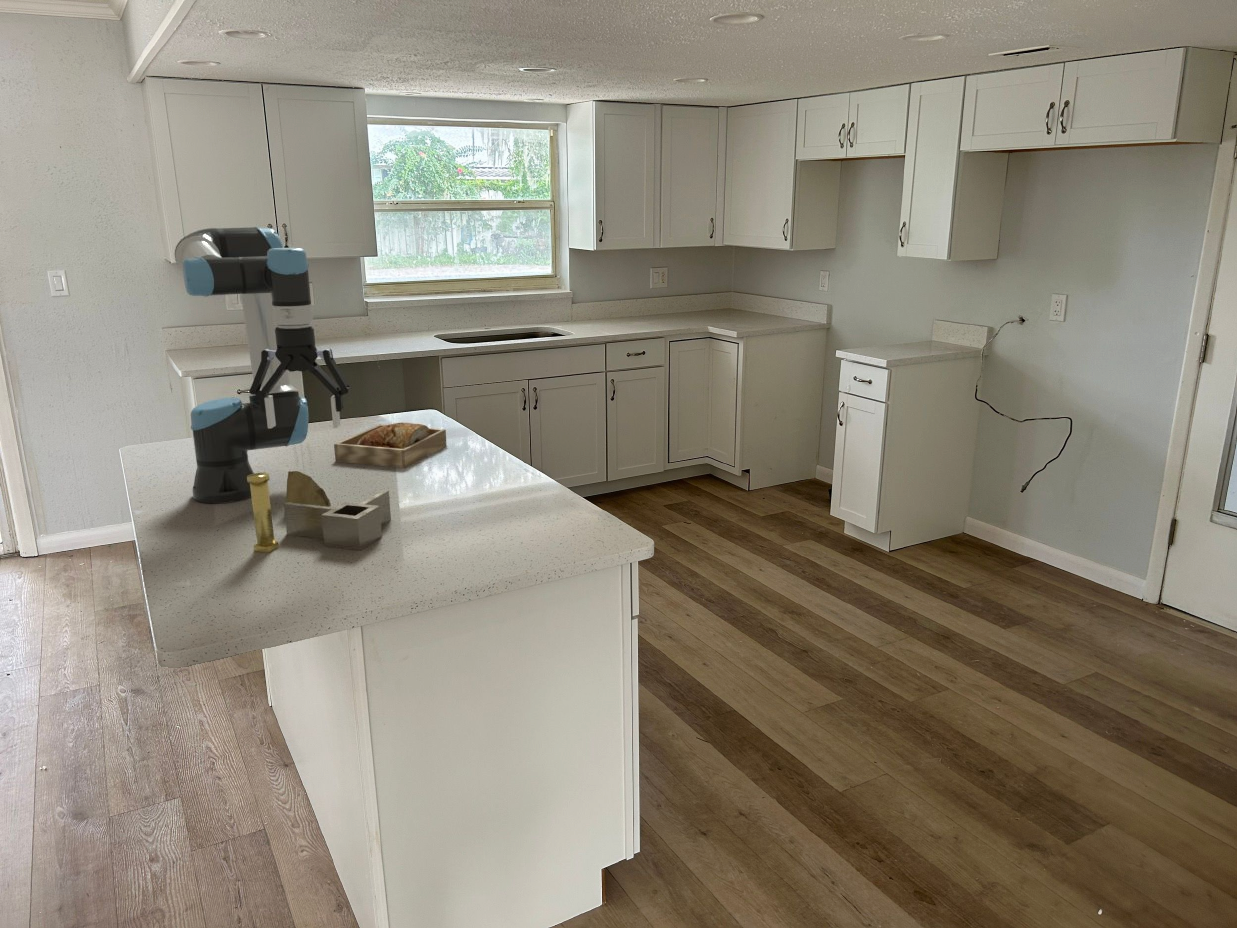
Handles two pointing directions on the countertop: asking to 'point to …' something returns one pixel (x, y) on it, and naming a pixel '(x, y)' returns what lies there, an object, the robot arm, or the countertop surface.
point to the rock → (305, 490)
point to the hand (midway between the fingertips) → (304, 426)
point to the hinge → (340, 521)
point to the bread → (395, 435)
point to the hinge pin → (262, 512)
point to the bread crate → (388, 450)
